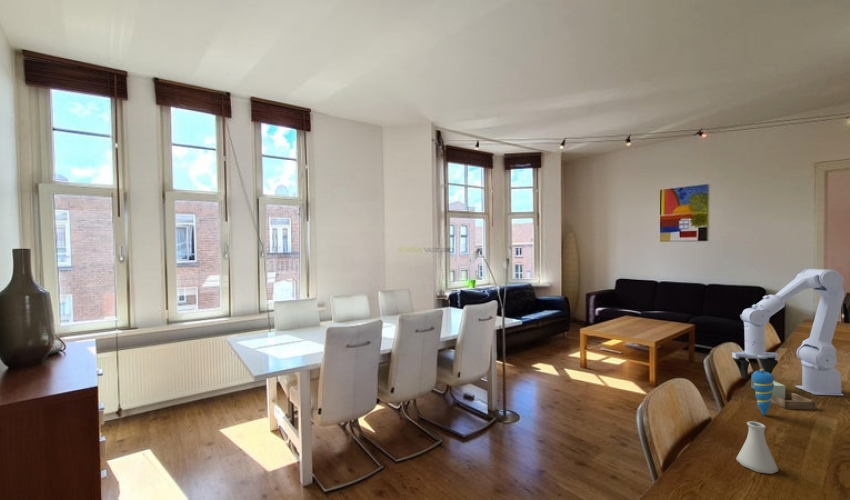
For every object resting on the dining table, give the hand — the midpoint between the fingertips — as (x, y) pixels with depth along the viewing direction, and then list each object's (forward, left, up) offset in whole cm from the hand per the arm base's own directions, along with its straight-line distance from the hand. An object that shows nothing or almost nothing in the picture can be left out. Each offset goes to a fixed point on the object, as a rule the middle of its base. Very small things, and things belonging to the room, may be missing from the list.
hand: (755, 377), depth 139 cm
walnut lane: (0, +14, -4) cm, 14 cm away
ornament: (+15, +24, -4) cm, 29 cm away
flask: (+38, +53, -4) cm, 65 cm away
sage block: (0, +5, -4) cm, 6 cm away
